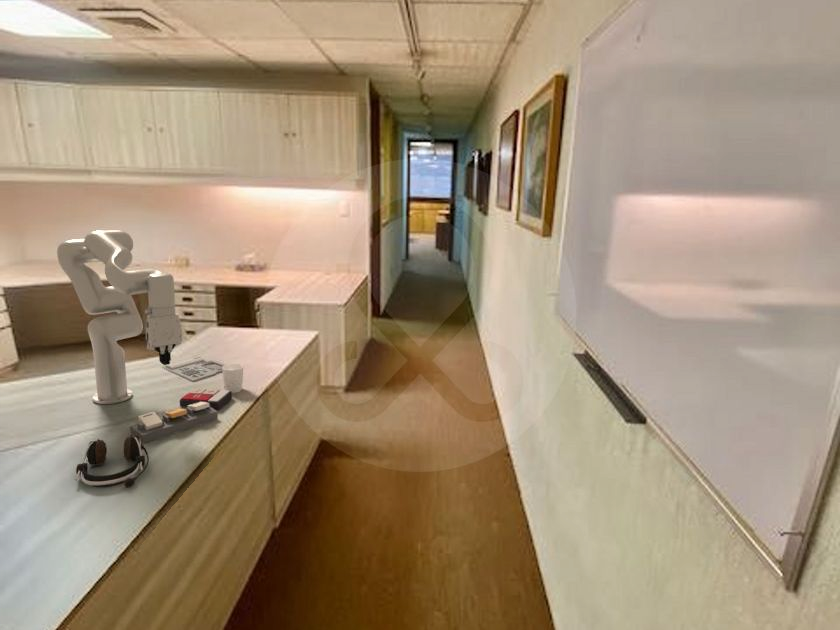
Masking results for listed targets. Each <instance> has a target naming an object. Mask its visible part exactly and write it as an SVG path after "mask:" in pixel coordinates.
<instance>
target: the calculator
mask: <svg viewBox="0 0 840 630" xmlns="http://www.w3.org/2000/svg"><path fill="white" fill-rule="evenodd" d="M232 394H233V393H232V392H231V391H229V390H224V389H218V388H216V389H215V388H203V387H200V388H199V387H195V388H193V389H192V390H191V391H189V393H186V394H185V395H184V396H182V397H181V398H180V399H179V406H182V408H187V406H188V405H191V404H194V403H198V402H207V403H209V404H210V407H211V408H213V409H215V410H216V411H218V412H219V411H220V410H222V409H223V408H224V407H225V406H226V405H228V404H229V403H230V402H231V401H232V400H233V395H232Z"/></svg>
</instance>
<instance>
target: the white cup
mask: <svg viewBox="0 0 840 630" xmlns="http://www.w3.org/2000/svg"><path fill="white" fill-rule="evenodd" d="M221 368H222V370H223V372H222V382H223V390H229V391H231V392H232V394H235V393H239V392H241V391H242V390H243V381H244V380H243V379H244V365H243V364H241V363H236V362H235V363H227V364H225V365H224V366H223V367H222V366H221Z"/></svg>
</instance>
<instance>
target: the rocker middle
mask: <svg viewBox="0 0 840 630" xmlns="http://www.w3.org/2000/svg"><path fill="white" fill-rule="evenodd" d="M185 409H186V408H179V407H178V408H174V409H172V410H168V411H167V410H166V411H165V412H163V415H164V414H166V415H167V416H169V418H175V417H178V416H181V415H184V414H187V411H186V410H185Z"/></svg>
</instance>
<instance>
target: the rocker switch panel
mask: <svg viewBox="0 0 840 630" xmlns="http://www.w3.org/2000/svg"><path fill="white" fill-rule="evenodd" d="M206 403H207V402H206ZM209 406H210V404H209ZM184 409H185V410H186V411H187V414H184V415H181V416H178V417H175V418H169V416H167V415H166V414H164V413H163V414H162V415H157V416H158V417H159V418H160V419H161V420H162V425H161V426H158V427H155V428H152V429H148V430H146V429H145V427H144V425H143V424H142V423H141V422H140V421H138V422H136V423H134V424H130V425H129V428H130V429H129V430H130V435H132V436H133V437H134V436H139V437H140V439H141V443H142V445H143V444H146V443H149V442H154V441H155V440H158V439H162V438H165V437H168V436H170V435H173V434H177V433H180V432H182V431H187V430H188V429H191V428H195V427H197V426H200V425H201V426H202V425H204V424H207V423H209V422H212V421H215V420H218V418H219V417H218V413H219V411H216V410H215V409H213V408H211V407H207V408H204V409H201V410H197V411H194V410H192V409H191V408H189V407H185V408H184Z"/></svg>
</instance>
